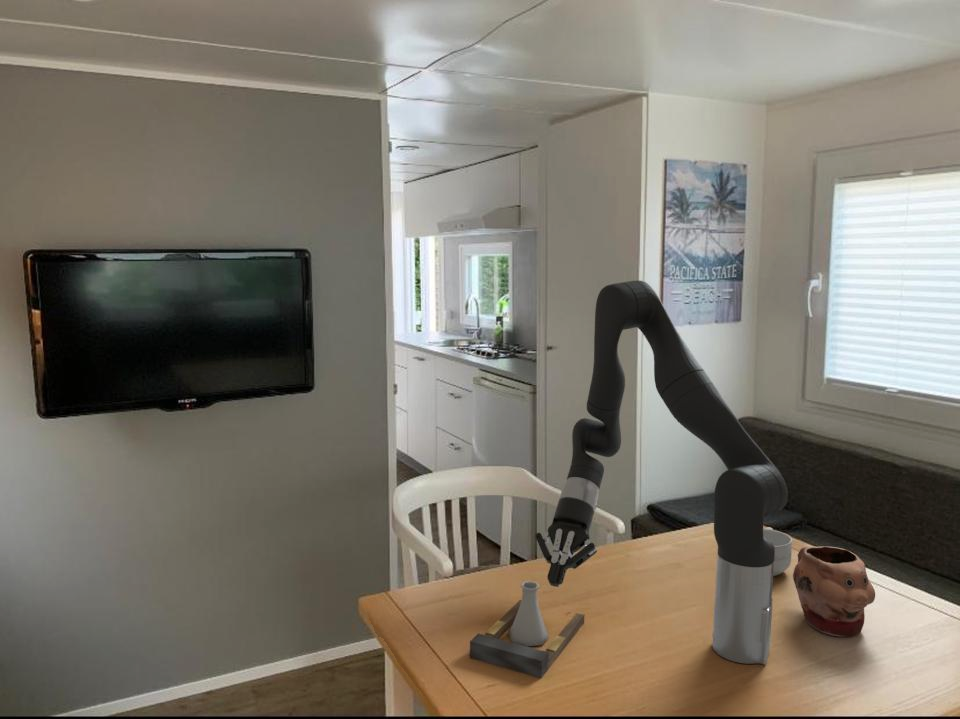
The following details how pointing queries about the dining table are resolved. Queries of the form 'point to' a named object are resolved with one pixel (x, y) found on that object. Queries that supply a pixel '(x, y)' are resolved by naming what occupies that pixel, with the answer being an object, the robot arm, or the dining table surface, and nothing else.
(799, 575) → the decorative planter
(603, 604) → the dining table surface
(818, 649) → the dining table surface
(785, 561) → the teacup
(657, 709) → the dining table surface
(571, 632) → the guide track
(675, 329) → the robot arm
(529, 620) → the flask
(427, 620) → the dining table surface
